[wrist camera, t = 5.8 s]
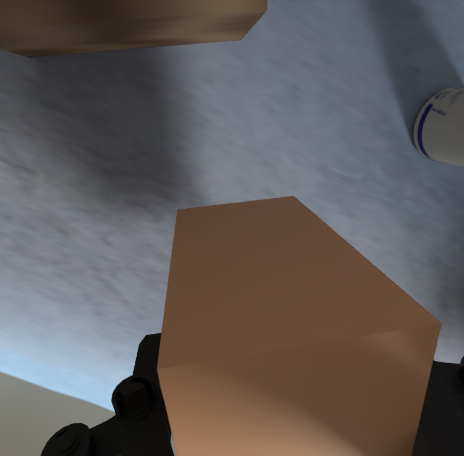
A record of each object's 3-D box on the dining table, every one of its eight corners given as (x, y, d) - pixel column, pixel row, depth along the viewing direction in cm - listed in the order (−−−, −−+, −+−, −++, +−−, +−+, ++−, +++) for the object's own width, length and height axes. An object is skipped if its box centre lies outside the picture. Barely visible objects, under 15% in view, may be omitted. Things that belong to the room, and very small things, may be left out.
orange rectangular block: (293, 196, 16) (441, 323, 6) (294, 333, 19) (391, 544, 10) (177, 209, 15) (156, 369, 6) (199, 348, 19) (208, 585, 9)
